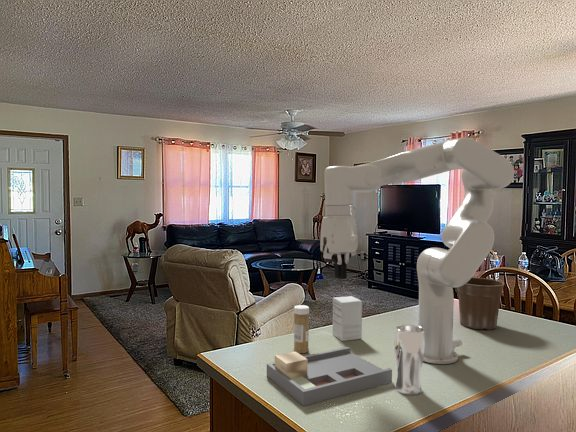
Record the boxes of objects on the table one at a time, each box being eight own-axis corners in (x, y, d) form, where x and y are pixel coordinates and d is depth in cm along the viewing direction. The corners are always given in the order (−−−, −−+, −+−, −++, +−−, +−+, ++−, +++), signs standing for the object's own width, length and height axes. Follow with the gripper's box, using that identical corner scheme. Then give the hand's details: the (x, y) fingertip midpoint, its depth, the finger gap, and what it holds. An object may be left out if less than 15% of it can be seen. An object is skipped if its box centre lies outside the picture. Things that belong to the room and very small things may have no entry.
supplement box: (351, 332, 147) (352, 295, 146) (362, 339, 140) (362, 300, 139) (331, 334, 145) (332, 297, 144) (341, 341, 138) (341, 302, 137)
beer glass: (389, 383, 107) (391, 324, 106) (417, 383, 108) (418, 323, 107) (399, 396, 100) (400, 333, 100) (428, 395, 101) (430, 332, 100)
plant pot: (460, 316, 168) (461, 275, 167) (506, 323, 158) (508, 280, 158) (448, 326, 155) (449, 281, 154) (498, 335, 145) (499, 287, 144)
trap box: (347, 357, 124) (348, 346, 124) (391, 381, 108) (392, 369, 108) (266, 375, 111) (266, 363, 111) (303, 406, 95) (303, 391, 95)
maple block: (295, 366, 112) (295, 351, 112) (307, 375, 107) (307, 359, 107) (274, 370, 109) (274, 355, 109) (286, 379, 104) (286, 363, 104)
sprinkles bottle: (311, 351, 128) (312, 307, 128) (299, 354, 126) (299, 309, 125) (302, 347, 132) (303, 303, 131) (290, 350, 130) (290, 305, 129)
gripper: (351, 209, 125) (352, 272, 126) (308, 212, 118) (310, 279, 119) (369, 210, 119) (370, 276, 120) (325, 213, 111) (327, 284, 112)
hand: (340, 277), depth 119 cm, fingers closed
